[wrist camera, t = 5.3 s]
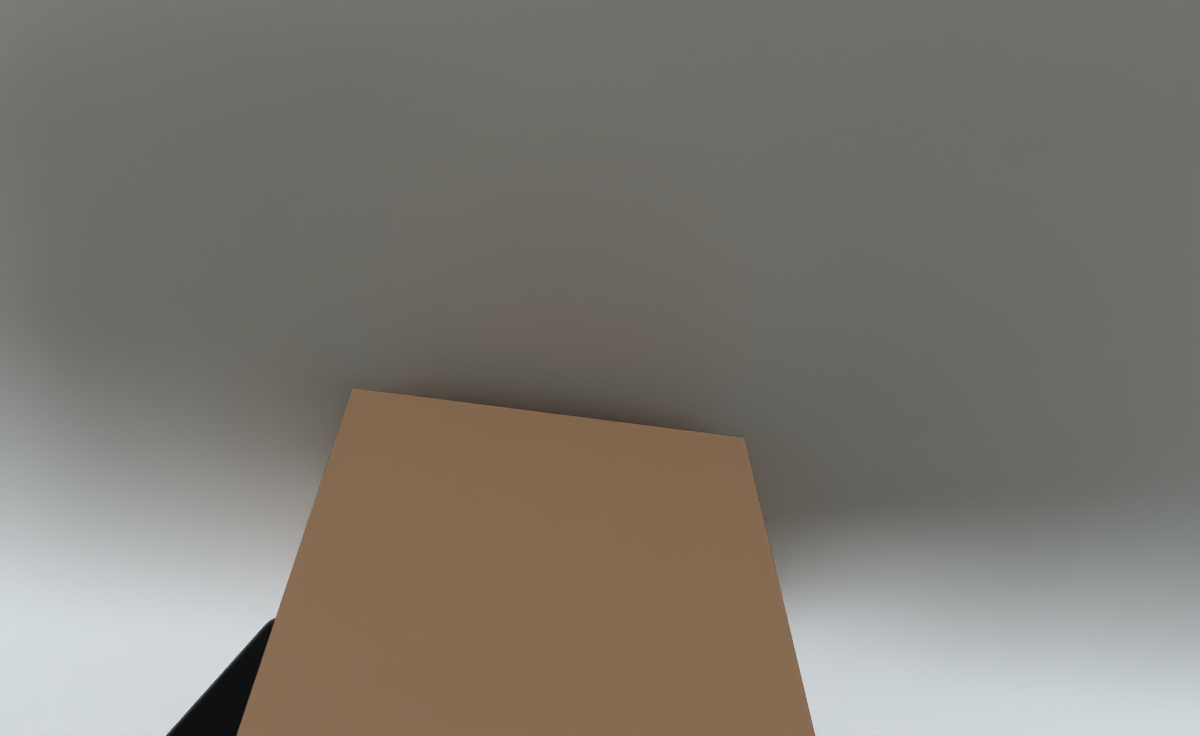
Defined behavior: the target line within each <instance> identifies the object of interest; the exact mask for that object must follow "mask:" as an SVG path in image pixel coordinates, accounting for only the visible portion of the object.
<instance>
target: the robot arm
mask: <svg viewBox="0 0 1200 736" xmlns="http://www.w3.org/2000/svg"><path fill="white" fill-rule="evenodd" d="M275 619H276V618H274V619H272V620H270V621H269V622H268V623H267V624H266V625H265V626H264V627H263V628H262V629H261V630H260V631H259V632H258V633H257V635H256V636H255V637H254V638H253V639H252V640H251V641H250V642H249V643H248V645H247V646H246V647H245V648H244V649H243V650H242V651H241V652H240V654H239V655H238V656H237V657H236V658H235V659H234V660H233V661H232V662H231V664H230V665H229V666H228V667H227V668H226V669H225V670H224V671H223V673H222V674H221V675H220V676H219V677H218V678H217V679H216V680H215V681H214V683H213V684H212V685H211V686H210V687H209V688H208V689H207V690H206V691H205V693H204V694H203V695H202V696H201V697H200V698H199V699H198V700H197V702H196V703H195V704H194V705H193V706H192V707H191V708H190V709H189V710H188V712H187V713H186V714H185V715H184V716H183V717H182V718H181V719H180V721H179V722H178V723H177V724H176V725H175V726H174V727H173V728H172V729H171V731H170V732H169V733H168V734H167V735H166V736H237V733H238V730H239V727H240V724H241V721H242V718H243V715H244V712H245V709H246V706H247V703H248V700H249V697H250V694H251V691H252V688H253V685H254V682H255V679H256V676H257V673H258V670H259V667H260V664H261V661H262V658H263V655H264V652H265V649H266V646H267V643H268V640H269V637H270V634H271V631H272V628H273V625H274V622H275Z"/></svg>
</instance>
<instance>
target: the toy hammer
mask: <svg viewBox="0 0 1200 736" xmlns="http://www.w3.org/2000/svg"><path fill="white" fill-rule="evenodd" d="M237 736H815V733H814V729H813V724H812V720H811V716H810V712H809V708H808V703H807V699H806V695H805V691H804V687H803V682H802V678H801V674H800V670H799V665H798V661H797V657H796V653H795V649H794V644H793V640H792V636H791V632H790V628H789V623H788V619H787V615H786V611H785V606H784V602H783V598H782V594H781V590H780V585H779V581H778V577H777V573H776V569H775V564H774V560H773V556H772V552H771V548H770V543H769V539H768V535H767V531H766V526H765V522H764V518H763V514H762V510H761V505H760V501H759V497H758V493H757V489H756V484H755V480H754V476H753V472H752V468H751V463H750V459H749V455H748V451H747V446H746V442H745V438H743V437H735V436H727V435H719V434H711V433H703V432H695V431H688V430H680V429H672V428H664V427H656V426H648V425H640V424H632V423H624V422H617V421H609V420H601V419H593V418H585V417H577V416H569V415H561V414H553V413H545V412H538V411H530V410H522V409H514V408H506V407H498V406H490V405H482V404H474V403H467V402H459V401H451V400H443V399H435V398H427V397H419V396H411V395H403V394H396V393H388V392H380V391H372V390H364V389H356V388H352V390H351V393H350V396H349V399H348V402H347V405H346V408H345V411H344V414H343V417H342V420H341V423H340V426H339V429H338V432H337V435H336V438H335V441H334V444H333V447H332V450H331V453H330V456H329V459H328V462H327V465H326V468H325V471H324V474H323V477H322V480H321V483H320V486H319V489H318V492H317V495H316V498H315V501H314V504H313V507H312V510H311V513H310V516H309V519H308V522H307V525H306V528H305V531H304V534H303V537H302V540H301V543H300V546H299V550H298V553H297V556H296V559H295V562H294V565H293V568H292V571H291V574H290V577H289V580H288V583H287V586H286V589H285V592H284V595H283V598H282V601H281V604H280V607H279V610H278V613H277V616H276V619H275V622H274V625H273V628H272V631H271V634H270V637H269V640H268V643H267V646H266V649H265V652H264V655H263V658H262V661H261V664H260V667H259V670H258V673H257V676H256V679H255V682H254V685H253V688H252V691H251V694H250V697H249V700H248V703H247V706H246V709H245V712H244V715H243V718H242V721H241V724H240V727H239V730H238V733H237Z"/></svg>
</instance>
